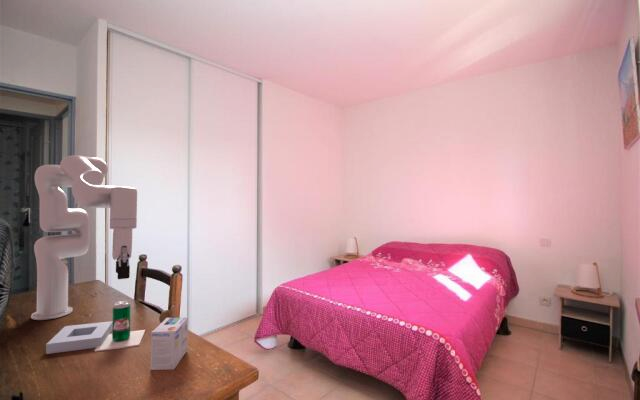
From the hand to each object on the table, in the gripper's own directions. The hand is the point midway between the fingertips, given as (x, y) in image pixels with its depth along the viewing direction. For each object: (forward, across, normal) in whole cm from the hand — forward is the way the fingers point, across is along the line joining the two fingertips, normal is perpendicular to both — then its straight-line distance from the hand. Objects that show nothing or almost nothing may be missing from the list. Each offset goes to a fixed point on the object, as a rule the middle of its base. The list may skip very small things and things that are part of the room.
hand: (122, 275), depth 103 cm
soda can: (+21, 0, 0) cm, 21 cm away
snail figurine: (+22, +9, +12) cm, 26 cm away
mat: (+22, 0, 0) cm, 22 cm away
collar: (+22, -7, -10) cm, 25 cm away
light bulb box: (+22, +23, +11) cm, 33 cm away
